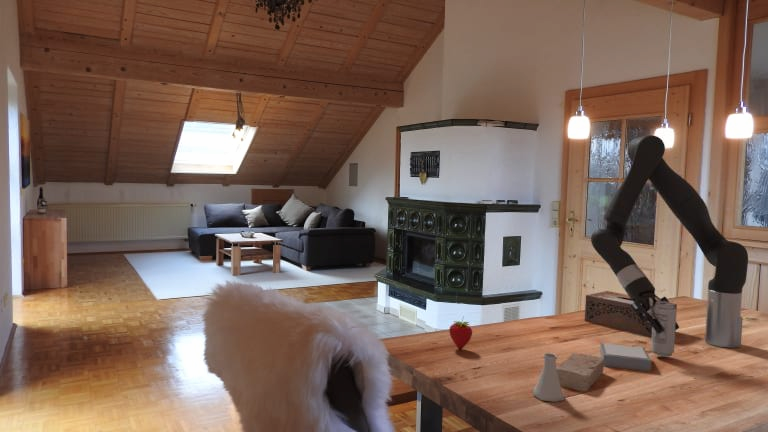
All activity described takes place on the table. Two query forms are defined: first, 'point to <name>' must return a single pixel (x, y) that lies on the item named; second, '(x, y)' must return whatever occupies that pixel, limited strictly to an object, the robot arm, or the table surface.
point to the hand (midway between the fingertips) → (668, 330)
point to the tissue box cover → (615, 313)
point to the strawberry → (460, 333)
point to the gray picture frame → (625, 357)
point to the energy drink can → (666, 339)
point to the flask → (549, 381)
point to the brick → (580, 371)
